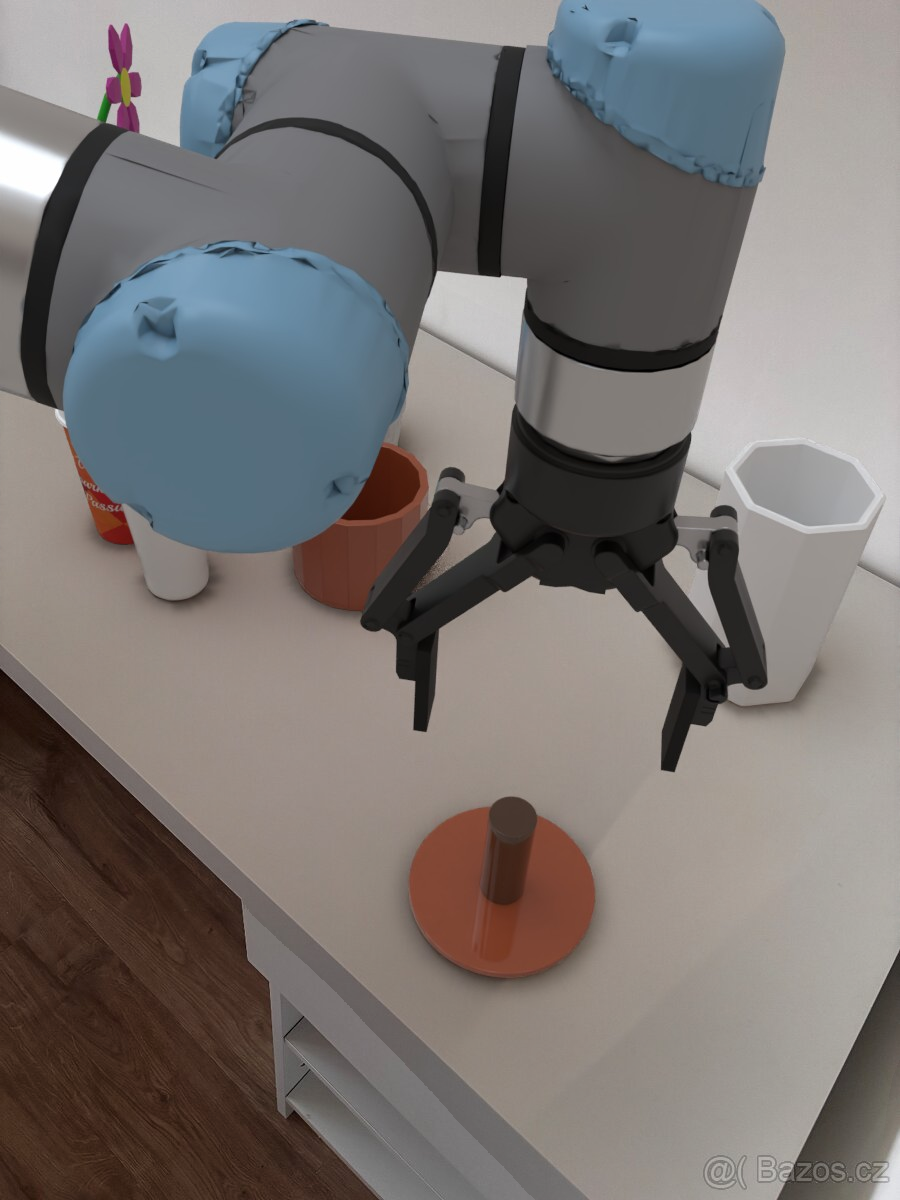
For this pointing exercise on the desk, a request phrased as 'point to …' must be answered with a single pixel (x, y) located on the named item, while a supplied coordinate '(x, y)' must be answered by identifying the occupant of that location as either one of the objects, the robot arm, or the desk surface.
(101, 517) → the paper cup
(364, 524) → the jar
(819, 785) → the desk surface
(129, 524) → the white plastic tumbler
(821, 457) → the cup
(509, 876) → the lid
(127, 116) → the flowerpot
